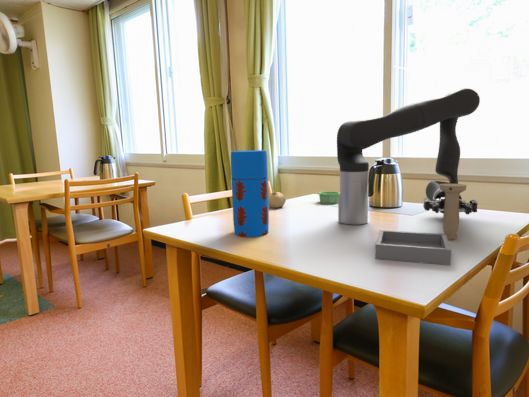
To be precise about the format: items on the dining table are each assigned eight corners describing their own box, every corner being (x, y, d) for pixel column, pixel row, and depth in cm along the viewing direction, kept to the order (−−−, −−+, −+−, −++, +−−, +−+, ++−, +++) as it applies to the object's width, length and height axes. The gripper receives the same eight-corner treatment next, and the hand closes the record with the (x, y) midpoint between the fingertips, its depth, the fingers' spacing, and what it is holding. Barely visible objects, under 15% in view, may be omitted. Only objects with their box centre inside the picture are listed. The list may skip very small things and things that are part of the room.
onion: (264, 206, 159) (264, 189, 158) (282, 205, 161) (282, 188, 160) (269, 210, 152) (268, 192, 151) (288, 208, 154) (287, 191, 152)
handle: (460, 242, 100) (464, 186, 98) (435, 238, 104) (437, 185, 102) (464, 238, 104) (468, 184, 102) (440, 235, 108) (442, 183, 106)
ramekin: (342, 201, 166) (342, 191, 165) (335, 205, 158) (335, 194, 158) (323, 200, 171) (323, 190, 170) (315, 203, 163) (315, 193, 162)
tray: (375, 258, 89) (375, 244, 89) (379, 242, 102) (379, 230, 102) (450, 265, 84) (451, 249, 83) (444, 247, 97) (445, 234, 96)
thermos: (256, 239, 109) (253, 152, 105) (226, 234, 115) (223, 152, 111) (275, 230, 118) (273, 150, 114) (247, 227, 124) (244, 150, 120)
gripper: (421, 187, 118) (423, 195, 103) (474, 188, 113) (484, 196, 98) (421, 210, 119) (422, 222, 104) (472, 212, 114) (482, 225, 99)
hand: (452, 209), depth 101 cm, fingers open, 7 cm apart
